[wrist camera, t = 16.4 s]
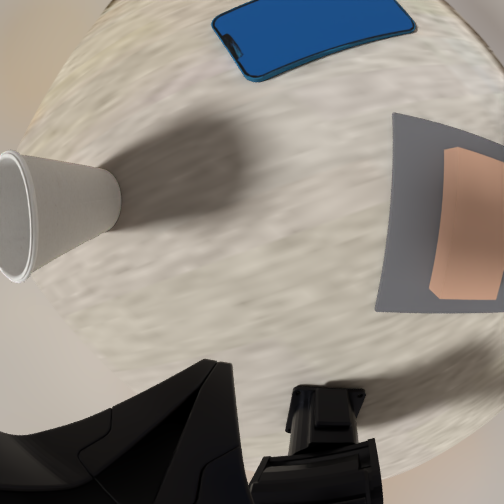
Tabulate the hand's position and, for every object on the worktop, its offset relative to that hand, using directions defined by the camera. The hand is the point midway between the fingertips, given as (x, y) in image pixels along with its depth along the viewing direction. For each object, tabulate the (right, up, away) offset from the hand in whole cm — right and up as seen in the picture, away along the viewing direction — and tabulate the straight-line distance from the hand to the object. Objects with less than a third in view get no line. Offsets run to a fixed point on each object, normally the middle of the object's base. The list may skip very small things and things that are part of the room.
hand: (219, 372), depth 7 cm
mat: (+17, +6, +8) cm, 20 cm away
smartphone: (+6, +21, +7) cm, 23 cm away
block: (+14, +5, +7) cm, 16 cm away
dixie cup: (-12, +8, +13) cm, 20 cm away
